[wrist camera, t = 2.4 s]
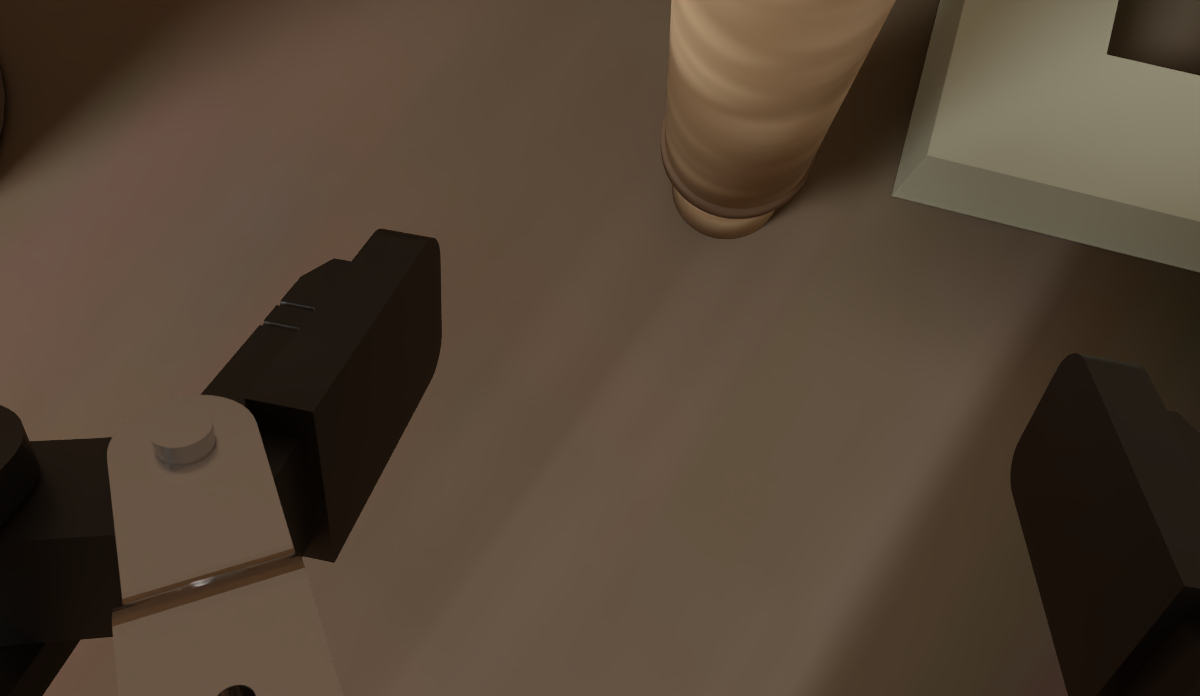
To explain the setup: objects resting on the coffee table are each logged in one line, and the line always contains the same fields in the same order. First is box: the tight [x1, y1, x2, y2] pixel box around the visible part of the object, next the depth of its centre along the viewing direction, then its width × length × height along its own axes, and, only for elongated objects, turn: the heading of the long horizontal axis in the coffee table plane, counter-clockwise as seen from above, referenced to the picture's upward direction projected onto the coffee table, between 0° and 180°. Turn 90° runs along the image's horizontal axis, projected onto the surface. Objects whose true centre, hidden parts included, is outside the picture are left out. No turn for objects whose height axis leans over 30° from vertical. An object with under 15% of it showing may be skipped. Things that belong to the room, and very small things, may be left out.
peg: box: [661, 0, 896, 239], centre depth 20 cm, size 4×4×16 cm
